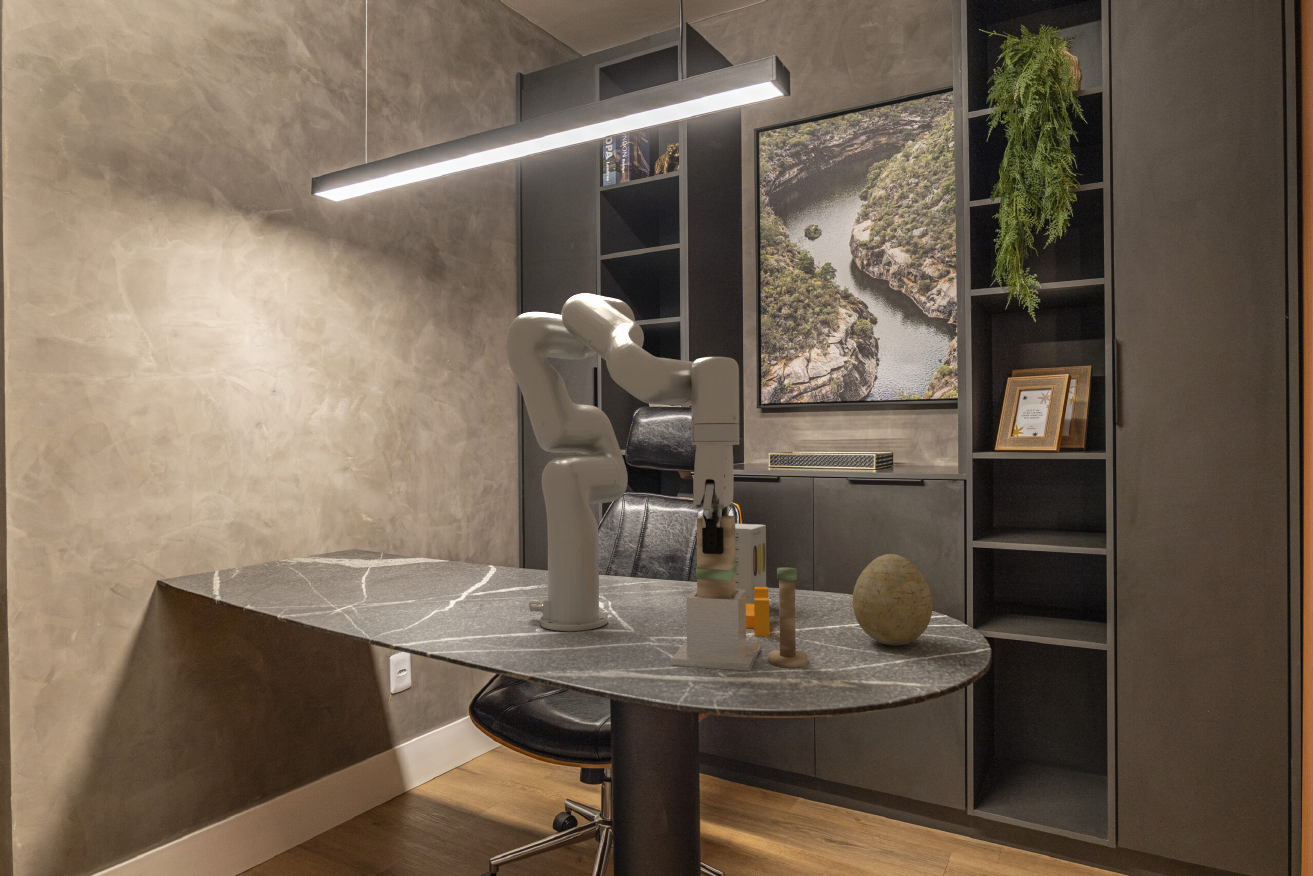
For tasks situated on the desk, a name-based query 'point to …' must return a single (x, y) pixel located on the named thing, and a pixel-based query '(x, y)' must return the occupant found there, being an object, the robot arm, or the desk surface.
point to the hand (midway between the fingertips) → (716, 549)
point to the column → (717, 564)
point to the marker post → (787, 623)
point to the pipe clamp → (759, 612)
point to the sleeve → (717, 634)
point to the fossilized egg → (892, 600)
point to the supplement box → (750, 558)
